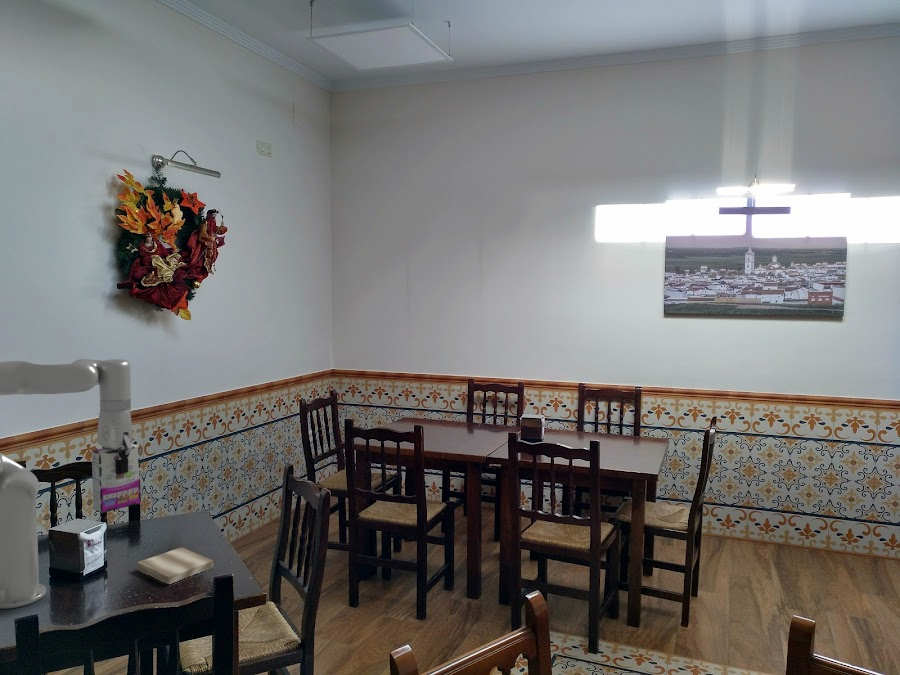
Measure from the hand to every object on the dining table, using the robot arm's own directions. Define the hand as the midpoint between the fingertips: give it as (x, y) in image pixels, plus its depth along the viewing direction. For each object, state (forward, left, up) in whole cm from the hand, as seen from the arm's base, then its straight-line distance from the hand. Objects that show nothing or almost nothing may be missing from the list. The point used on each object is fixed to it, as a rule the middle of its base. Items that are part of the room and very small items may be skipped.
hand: (116, 470), depth 185 cm
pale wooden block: (+14, -5, -32) cm, 35 cm away
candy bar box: (0, 0, -10) cm, 10 cm away
